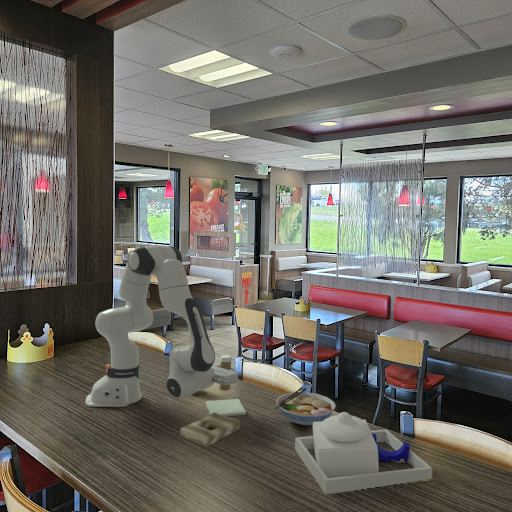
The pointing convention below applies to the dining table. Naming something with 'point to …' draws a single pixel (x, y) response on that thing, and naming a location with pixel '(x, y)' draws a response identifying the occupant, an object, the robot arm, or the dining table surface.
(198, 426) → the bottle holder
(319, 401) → the ramen bowl
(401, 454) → the cable clip
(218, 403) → the pad
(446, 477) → the dining table surface
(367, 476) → the grey rectangular tray
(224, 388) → the sprinkles bottle
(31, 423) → the dining table surface
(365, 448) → the white block with dome
